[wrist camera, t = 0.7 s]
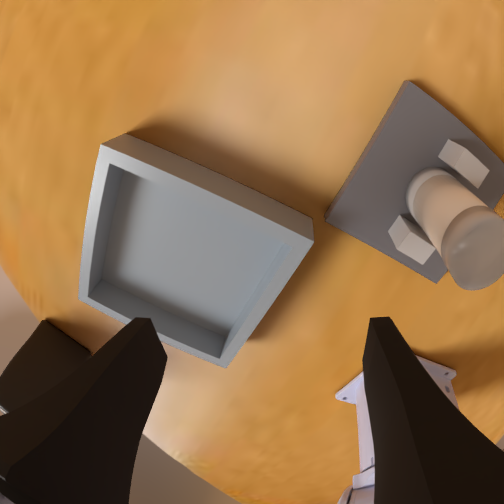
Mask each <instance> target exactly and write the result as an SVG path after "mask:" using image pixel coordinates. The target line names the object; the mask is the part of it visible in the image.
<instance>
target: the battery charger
mask: <svg viewBox="0 0 504 504" xmlns="http://www.w3.org/2000/svg"><path fill="white" fill-rule="evenodd" d="M90 357H91V353H90V352H89V351H88V350H86V349H85V348H84V347H82V346H81V345H80V344H78V343H77V342H75V341H74V340H73V339H71V338H70V337H69V336H67V335H66V334H64V333H63V332H61V331H60V330H58V329H57V328H56V327H54V326H53V325H51V324H50V323H48V322H47V321H45V320H42V321H41V323H40V324H39V325H38V327H37V328H36V330H35V331H34V332H33V334H32V335H31V336H30V338H29V339H28V340H27V341H26V343H25V344H24V345H23V346H22V347H21V349H20V350H19V351H18V352H17V353H16V355H15V356H14V357H13V359H12V360H11V361H10V363H9V364H8V365H7V367H6V369H5V370H4V371H3V373H2V375H1V376H0V411H1V412H2V413H3V414H6V413H9V412H11V411H13V410H15V409H17V408H19V407H21V406H23V405H25V404H27V403H28V402H30V401H32V400H33V399H35V398H37V397H39V396H40V395H42V394H44V393H45V392H47V391H48V390H50V389H51V388H53V387H54V386H55V385H57V384H58V383H60V382H61V381H62V380H64V379H65V378H66V377H68V376H69V375H70V374H72V373H73V372H74V371H75V370H76V369H77V368H79V367H80V366H81V365H82V364H83V363H85V362H86V361H87V360H88V359H89V358H90Z"/></svg>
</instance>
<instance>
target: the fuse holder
mask: <svg viewBox="0 0 504 504" xmlns="http://www.w3.org/2000/svg"><path fill="white" fill-rule="evenodd" d="M427 167H439V168H442V169H444V170H445V171H447V172H448V173H449V174H451V175H452V176H453V177H455V178H456V179H457V180H458V181H459V182H460V183H461V184H462V185H463V186H464V187H466V188H467V189H468V190H469V191H470V192H472V193H473V194H474V195H475V196H476V197H477V198H479V199H480V200H481V201H482V202H483V203H484V204H486V205H487V206H488V207H489V208H491V209H494V207H495V206H496V204H497V203H498V201H499V200H500V198H501V197H502V195H503V194H504V163H503V162H502V161H501V160H500V159H499V158H498V157H497V156H496V155H495V153H494V152H493V151H492V150H491V149H490V148H489V147H488V146H487V145H486V144H485V143H484V142H482V141H481V140H480V139H479V138H478V137H477V136H476V135H475V134H474V133H473V132H472V131H471V130H470V129H469V128H468V127H466V126H465V125H464V124H463V123H462V122H461V121H460V120H459V119H457V118H456V117H455V116H454V115H453V114H452V113H450V112H449V111H448V110H447V109H446V108H444V107H443V106H442V105H441V104H439V103H438V102H437V101H436V100H434V99H433V98H432V97H430V96H429V95H428V94H427V93H425V92H424V91H423V90H421V89H420V88H419V87H417V86H416V85H414V84H413V83H412V82H410V81H404V83H403V84H402V86H401V88H400V90H399V92H398V93H397V95H396V97H395V99H394V100H393V102H392V104H391V106H390V107H389V109H388V111H387V112H386V114H385V116H384V118H383V119H382V121H381V123H380V125H379V126H378V128H377V130H376V131H375V133H374V135H373V136H372V138H371V140H370V141H369V143H368V145H367V147H366V148H365V150H364V152H363V153H362V155H361V157H360V158H359V160H358V161H357V163H356V165H355V166H354V168H353V170H352V171H351V173H350V175H349V176H348V178H347V179H346V181H345V183H344V184H343V186H342V188H341V189H340V191H339V192H338V194H337V196H336V197H335V199H334V200H333V202H332V204H331V205H330V207H329V208H328V210H327V212H326V213H325V215H324V218H325V222H327V223H329V224H331V225H333V226H334V227H336V228H338V229H340V230H342V231H344V232H346V233H348V234H350V235H351V236H353V237H355V238H357V239H359V240H361V241H362V242H364V243H366V244H368V245H370V246H372V247H373V248H375V249H377V250H379V251H381V252H382V253H384V254H386V255H388V256H390V257H391V258H393V259H395V260H397V261H398V262H400V263H402V264H404V265H405V266H407V267H409V268H410V269H412V270H414V271H416V272H417V273H419V274H421V275H422V276H424V277H426V278H427V279H429V280H431V281H433V282H434V283H436V284H437V283H438V281H439V280H440V279H441V278H442V277H443V275H444V274H445V273H446V272H447V271H448V269H447V267H446V266H445V264H444V262H443V260H442V257H441V256H440V254H439V252H438V251H437V249H436V248H435V246H434V245H433V243H432V242H431V240H430V239H429V237H428V236H427V234H426V233H425V232H424V230H423V229H422V227H421V226H420V225H419V224H418V223H417V222H416V220H415V219H414V217H413V216H412V215H411V213H410V212H409V210H408V208H407V205H406V201H405V194H406V189H407V186H408V183H409V182H410V180H411V179H412V177H413V176H414V175H415V174H416V173H417V172H419V171H420V170H422V169H424V168H427Z"/></svg>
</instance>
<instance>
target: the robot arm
mask: <svg viewBox="0 0 504 504" xmlns="http://www.w3.org/2000/svg"><path fill="white" fill-rule="evenodd" d="M362 361H363V371H362V372H361V373H360V374H359V375H358V376H357V377H355V378H354V379H353V380H352V381H351V382H350V383H348V384H347V385H346V386H345V387H343V388H342V389H341V390H340V391H339V392H337V393H336V399H338V400H341V401H345V402H348V403H352V404H356V408H357V421H358V436H359V454H360V474H357V475H353V485H351V486H349V487H347V488H346V489H345V491H344V492H343V494H342V496H341V497H340V499H339V501H338V504H504V452H503V451H502V450H501V449H499V448H498V447H497V446H496V445H495V444H494V443H492V442H491V441H490V440H489V439H488V438H487V437H486V436H485V435H484V434H483V433H481V432H480V431H479V430H478V429H477V428H476V427H475V426H474V425H473V424H472V423H471V422H470V421H469V420H468V419H467V418H466V417H465V416H464V415H463V414H462V413H461V412H460V411H459V407H458V404H457V400H456V397H455V393H454V390H453V387H452V384H451V380H452V379H453V378H454V377H455V376H456V375H457V373H456V371H455V370H453V369H450V368H448V367H445V366H443V365H440V364H437V363H435V362H432V361H429V360H427V359H424V358H422V357H419V356H416V355H415V354H414V353H413V351H412V350H411V348H410V347H409V345H408V344H407V342H406V341H405V339H404V338H403V336H402V335H401V333H400V332H399V330H398V329H397V327H396V326H395V324H394V323H393V321H392V319H391V318H390V317H375V318H370V322H369V328H368V333H367V339H366V344H365V350H364V355H363V360H362ZM166 362H167V355H166V353H165V350H164V348H163V346H162V344H161V341H160V339H159V337H158V334H157V332H156V330H155V327H154V325H153V323H152V320H151V318H142V317H135V318H134V319H133V320H132V321H130V322H129V323H128V324H127V325H126V326H125V327H124V328H122V329H121V330H120V331H119V332H118V333H117V334H116V335H115V336H114V337H113V338H111V339H110V340H109V341H108V342H107V343H106V344H105V345H104V346H103V347H102V348H100V349H99V350H98V351H97V352H96V353H95V354H94V355H93V356H92V357H90V358H89V359H88V360H87V361H86V362H85V363H83V364H82V365H81V366H80V367H79V368H77V369H76V370H75V371H74V372H73V373H72V374H70V375H69V376H68V377H66V378H65V379H64V380H62V381H61V382H60V383H58V384H57V385H55V386H54V387H53V388H51V389H50V390H48V391H47V392H45V393H44V394H42V395H40V396H39V397H37V398H35V399H33V400H32V401H30V402H28V403H27V404H25V405H23V406H21V407H19V408H17V409H15V410H13V411H11V412H9V413H6V414H4V415H2V416H0V504H128V502H129V494H130V486H131V479H132V473H133V468H134V462H135V458H136V454H137V450H138V445H139V441H140V438H141V435H142V432H143V429H144V427H145V424H146V421H147V419H148V416H149V414H150V411H151V409H152V406H153V403H154V401H155V398H156V396H157V393H158V390H159V388H160V385H161V382H162V378H163V375H164V371H165V366H166Z"/></svg>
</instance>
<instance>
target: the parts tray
mask: <svg viewBox="0 0 504 504" xmlns="http://www.w3.org/2000/svg"><path fill="white" fill-rule="evenodd" d="M313 243H314V232H313V222H312V218H310V217H308V216H306V215H304V214H302V213H300V212H298V211H296V210H294V209H292V208H290V207H288V206H286V205H284V204H282V203H280V202H278V201H276V200H274V199H272V198H270V197H268V196H266V195H264V194H262V193H260V192H257V191H255V190H253V189H251V188H249V187H247V186H245V185H243V184H241V183H238V182H236V181H234V180H232V179H230V178H228V177H225V176H223V175H221V174H219V173H217V172H215V171H212V170H210V169H208V168H206V167H203V166H201V165H199V164H197V163H194V162H192V161H190V160H188V159H185V158H183V157H181V156H178V155H176V154H174V153H171V152H169V151H167V150H164V149H162V148H160V147H157V146H155V145H153V144H150V143H148V142H145V141H143V140H140V139H138V138H136V137H133V136H131V135H128V134H126V133H125V134H122V135H120V136H118V137H116V138H113V139H111V140H109V141H107V142H105V143H102V144H101V146H100V150H99V154H98V159H97V163H96V168H95V172H94V177H93V182H92V188H91V193H90V199H89V205H88V211H87V217H86V224H85V231H84V239H83V247H82V257H81V267H80V279H79V295H78V299H79V300H81V301H82V302H84V303H86V304H88V305H90V306H92V307H93V308H95V309H97V310H99V311H101V312H103V313H105V314H107V315H108V316H110V317H112V318H114V319H116V320H118V321H120V322H122V323H124V324H126V325H127V324H128V323H129V322H130V321H132V320H133V319H134V318H135V317H142V318H151V320H152V323H153V325H154V327H155V330H156V332H157V334H158V337H159V339H160V341H162V342H164V343H166V344H168V345H171V346H173V347H175V348H177V349H180V350H182V351H184V352H187V353H189V354H191V355H194V356H196V357H198V358H201V359H203V360H206V361H208V362H211V363H213V364H216V365H218V366H221V367H223V368H227V366H228V365H229V364H230V362H231V361H232V360H233V358H234V357H235V356H236V354H237V353H238V351H239V350H240V349H241V347H242V346H243V345H244V343H245V342H246V340H247V339H248V338H249V336H250V335H251V333H252V332H253V331H254V329H255V328H256V326H257V325H258V324H259V322H260V321H261V319H262V318H263V316H264V315H265V314H266V312H267V311H268V309H269V308H270V306H271V305H272V304H273V302H274V301H275V299H276V298H277V296H278V295H279V293H280V292H281V291H282V289H283V288H284V286H285V285H286V283H287V282H288V280H289V279H290V277H291V276H292V274H293V273H294V272H295V270H296V269H297V267H298V266H299V264H300V263H301V261H302V260H303V258H304V257H305V255H306V254H307V252H308V251H309V249H310V248H311V246H312V245H313Z"/></svg>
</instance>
